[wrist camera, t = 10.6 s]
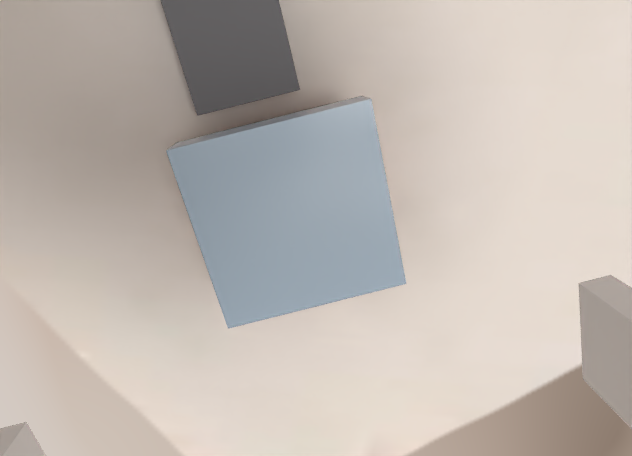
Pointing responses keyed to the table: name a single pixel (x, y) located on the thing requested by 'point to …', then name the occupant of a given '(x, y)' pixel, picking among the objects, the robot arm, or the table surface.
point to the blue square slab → (291, 210)
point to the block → (231, 51)
